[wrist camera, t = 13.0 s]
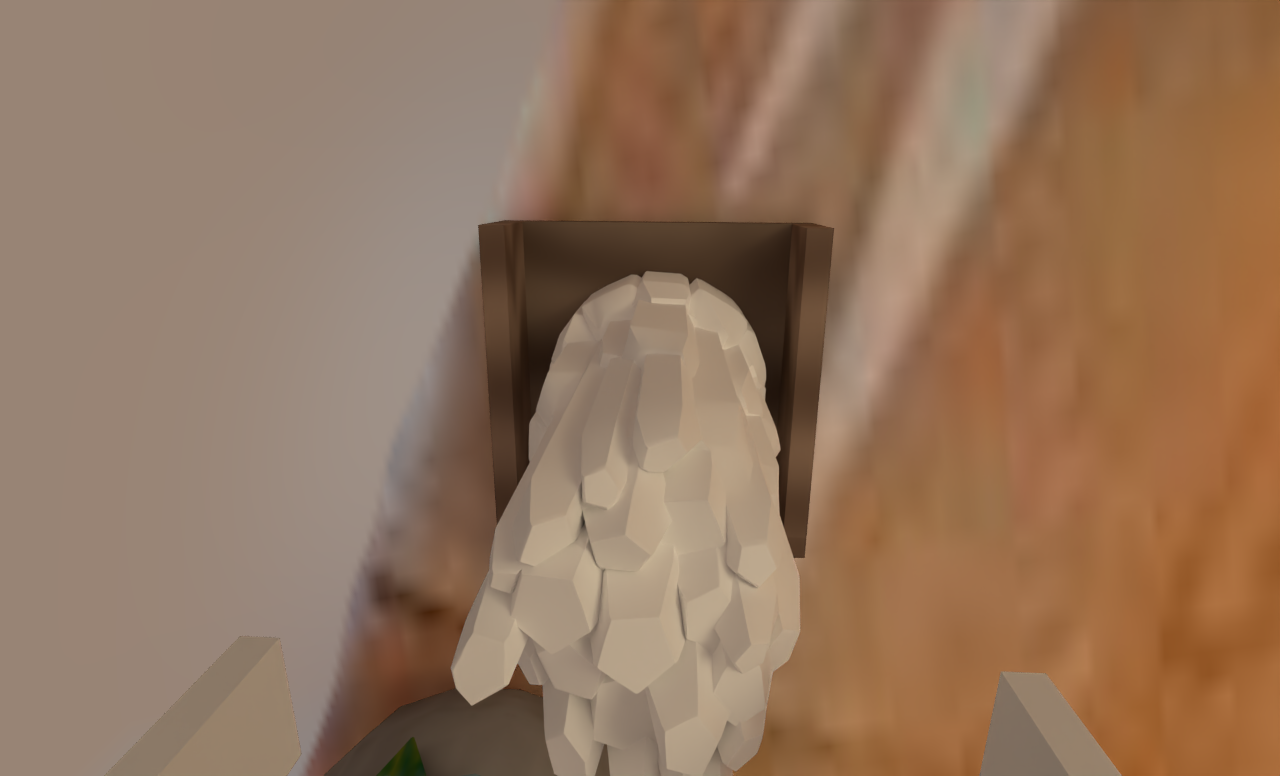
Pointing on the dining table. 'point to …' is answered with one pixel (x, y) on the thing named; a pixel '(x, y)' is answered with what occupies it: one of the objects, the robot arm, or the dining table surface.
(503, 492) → the brown wooden tray
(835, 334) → the dining table surface
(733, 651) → the decorative vase
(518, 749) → the flower arrangement
